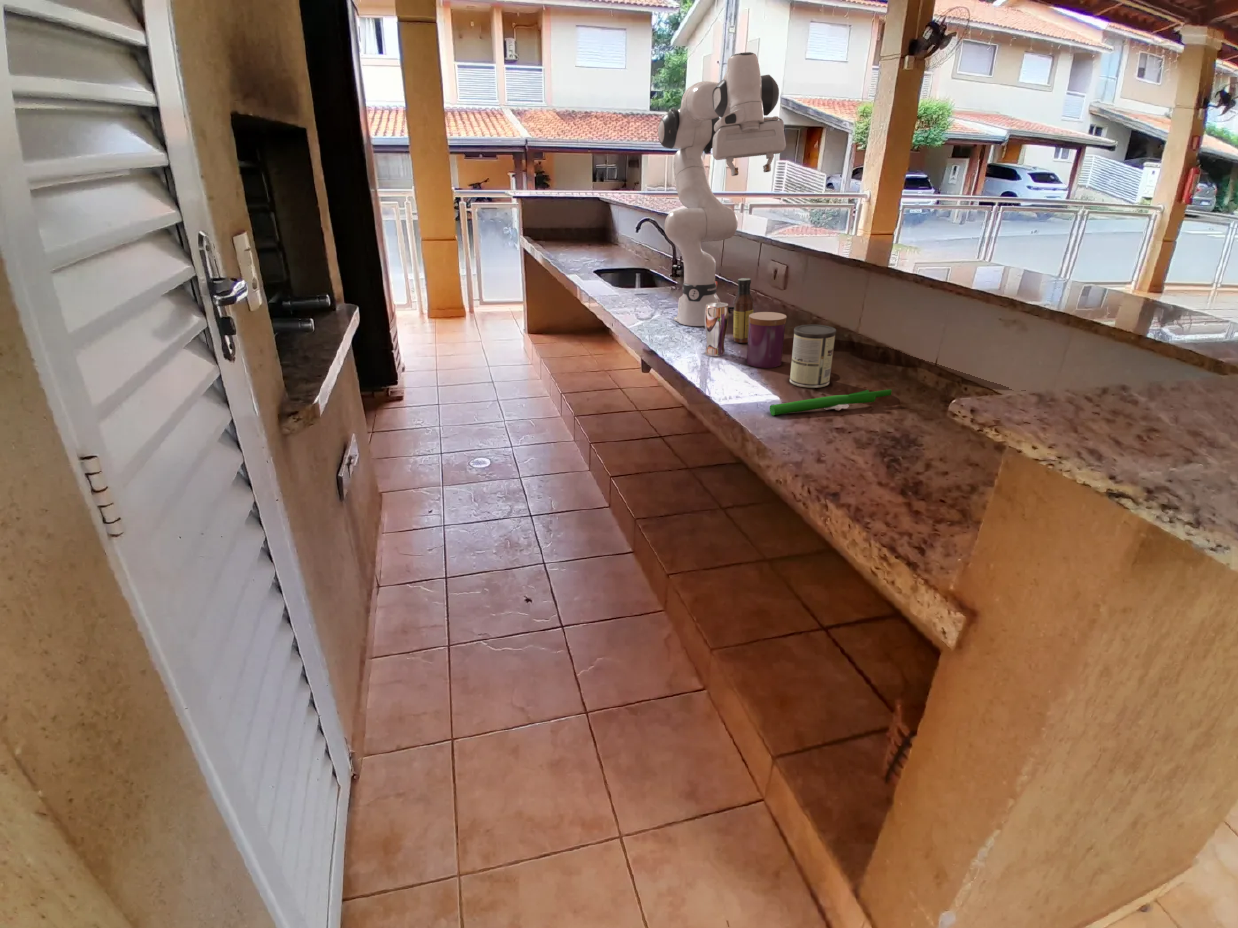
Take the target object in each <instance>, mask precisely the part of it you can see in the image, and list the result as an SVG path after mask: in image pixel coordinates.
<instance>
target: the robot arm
mask: <svg viewBox="0 0 1238 928" xmlns="http://www.w3.org/2000/svg"><path fill="white" fill-rule="evenodd" d="M726 62H727V63H726V72H725V74H724V76H723V78H722V80H720V81H719V82H715V81H708V80H703V81H698V82H696V83H694V84H692V85H690V86H689V87H687V89H686V90H685V91H684V93H683V95H682V97H681V103H680V107H679V108H678V109H675V108H674V107H673V108H671V109H670V111H669V112H667V113H665V114H664V115H663V116H662V117H661V119H660V120H659V123H658V127H657V128H658V129H657V136H658V140H659V143H660V145H661V146H662V147H663V148H666V149H670V150H671V149H678V150H677V151H676V152H675V154H674V156H673V163H672V164H673V165H672V166H673V177H674V182H675V187H676V192H677V196H678V200H679V202H680V203H681V205H682V206H684V207H685V208H680V209H676V210H673V211H670V212H669V213H668V215H667V216H666V217H665V220H664V232H665V235H666V237H667V238H668V240H669V241H670V242H672V243H673V244H674V245H675V246H676V248H677V249H678V250H679V252H680V255H681V257H682V261H683V283H682V287H681V289H682V295H681V296H680V297H679V298H678V304H677V316H675V317H673V321H675V322H677V323H679V324H680V325H683V326H689V327H690V326H691V327H705V310H706V304H707V303H712V302H722V301H721V299H720V297H719V296H718V295H717V290H718V289H717V288H718V281H716V270H717V269H716V268H717V266H716V265H717V262H716V259H715V257H714V256H713V255H711V254H710V253H708V252H707V251H704V250H703V249H702V243H704V242H705V243H706V242H720V241H724V240H728V239H732V237H734V235H735V234H736V232H737V230H738V227H739V226H738V225H739V219H738V216H737V214H736V212H735V211H734V209H732V208H731V207H728V206H727V205H725V204H723V203H722V202H721V200H719V198H717V197H716V196H715V194H714V193H713V191H712V189H711V186H710V183H709V179H708V176H707V171H706V168H705V165H704V161H703V155H704V153H705V154H709V153H711V151H712V157H713V159H714V160H715V161H723V160H725V163H726V165H727V166H728V168H729V169H730V175H731V177H736V176H738V175H739V167H737V166H736V165H734V163H733V162H734V161H735V159H741V158H749V157H750V158H751V157H760V156H765V158H766V161H767V162H766V164H763V166H762V168H763V173H769V172H771V171H772V167H771V166H772V165H771V164H772V162H773V160H774V158H775V155H779V154H781V153H782V152H784V150H786V147H787V142H786V135H785V131H784V130H785V123H784V121H783V119H782V118H781V117H779V116H768V115H770V114H771V113H772V111H773V110H774V109H775V108H776V106H777V104H778V102H779V99H780V98H779V97H780V89H779V85H778V83H777V81H776V80H775V79H774V78H773V77H772V76H771V75H770V74H764V75H761V69H760V64H759V58H758V56H757V54H756V53H754V52H752V51H745V52H739V53H735V54H732V55H731V56H729V57H728V59H727V61H726ZM731 310H734V306H728V313H731Z"/></svg>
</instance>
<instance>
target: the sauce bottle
mask: <svg viewBox="0 0 1238 928" xmlns="http://www.w3.org/2000/svg"><path fill="white" fill-rule="evenodd" d="M751 284H752V279H751V278H750V277H741V278H738V279H737V295H736V296H735V297H734V300H733V307H734V309H733V323H732V324H733V326H732V327H733V330H732V331H733V332H732V333H733V334H732V336H733V342H735V343H737V344H748V331H749V321H748V320H749V315H750V314H752V313H754V298H753V296H752V294H751Z"/></svg>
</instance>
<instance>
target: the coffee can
mask: <svg viewBox="0 0 1238 928" xmlns="http://www.w3.org/2000/svg"><path fill="white" fill-rule="evenodd" d="M836 334H837V329H836V328H835V327H832V326H829V325H825V324H824V325H823V324H814V323H813V324H801V325H797V326H795V327H794V328H793V340H792V341H793V343H792V352H791V363H790V375H789V383H790V384H792V385H793V386H797V387H801V388H806V389H807V388H808V389H815V388H816V389H817V388H820V389H821V388H824V387H827V386H829V385H830V379H831V371H832V363H833V356H834V348H835V340H836Z"/></svg>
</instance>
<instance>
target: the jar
mask: <svg viewBox="0 0 1238 928" xmlns="http://www.w3.org/2000/svg"><path fill="white" fill-rule="evenodd" d="M748 321H749V331H748V343H747V347H746V361H745V362H746V364H747V365H748V366H751V367H755V368H760V369H772V368H776V367H777V368H778V367H780V366H781V365H782V362H783V353H784V352H783V350H784V341H785V331H786V323H787V315H786V314H785V313H781V312H774V311H758V312H753V313H752V314H750V315H749V320H748Z"/></svg>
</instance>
